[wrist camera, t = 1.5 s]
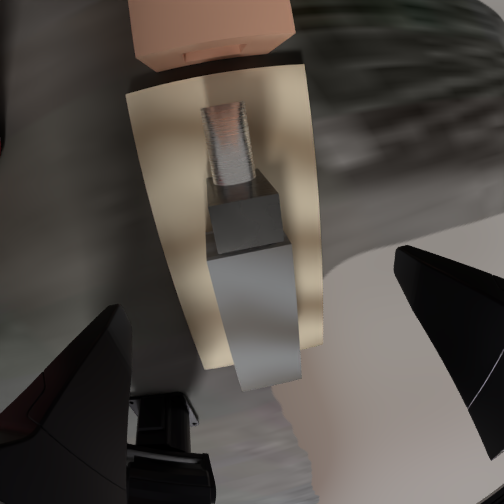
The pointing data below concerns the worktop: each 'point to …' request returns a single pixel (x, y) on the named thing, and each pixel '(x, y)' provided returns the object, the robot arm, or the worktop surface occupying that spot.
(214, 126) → the hammer
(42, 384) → the robot arm
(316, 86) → the worktop surface
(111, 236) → the worktop surface
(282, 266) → the sleeve mount
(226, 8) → the socket block
